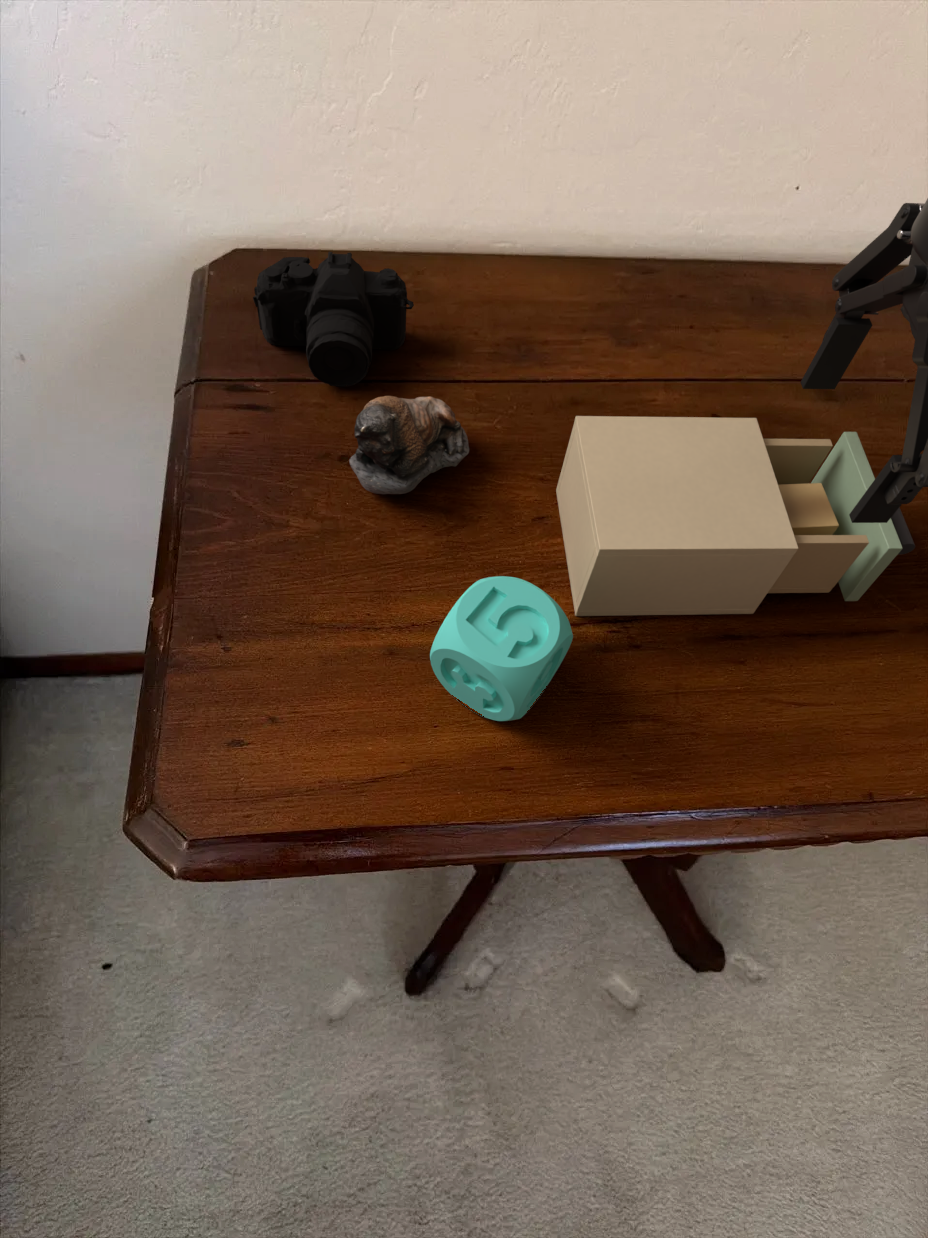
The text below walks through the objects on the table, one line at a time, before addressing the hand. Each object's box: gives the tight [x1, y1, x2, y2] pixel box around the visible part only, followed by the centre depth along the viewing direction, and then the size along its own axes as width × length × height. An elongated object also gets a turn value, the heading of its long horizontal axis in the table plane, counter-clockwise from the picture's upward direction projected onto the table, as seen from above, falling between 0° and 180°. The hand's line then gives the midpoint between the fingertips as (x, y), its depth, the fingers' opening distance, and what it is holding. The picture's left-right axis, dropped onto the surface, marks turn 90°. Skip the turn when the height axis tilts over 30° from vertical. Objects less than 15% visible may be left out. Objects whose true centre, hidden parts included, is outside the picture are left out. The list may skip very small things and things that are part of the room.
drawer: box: [763, 431, 916, 602], centre depth 75 cm, size 18×12×8 cm
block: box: [778, 482, 839, 535], centre depth 76 cm, size 5×5×5 cm
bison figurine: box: [348, 395, 470, 495], centre depth 76 cm, size 12×7×10 cm, turn 136°
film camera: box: [252, 251, 415, 388], centre depth 84 cm, size 15×10×9 cm, turn 92°
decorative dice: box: [429, 575, 574, 722], centre depth 67 cm, size 8×8×8 cm
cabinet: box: [555, 415, 798, 617], centre depth 74 cm, size 16×14×10 cm
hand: (841, 449), depth 68 cm, fingers open, 13 cm apart
